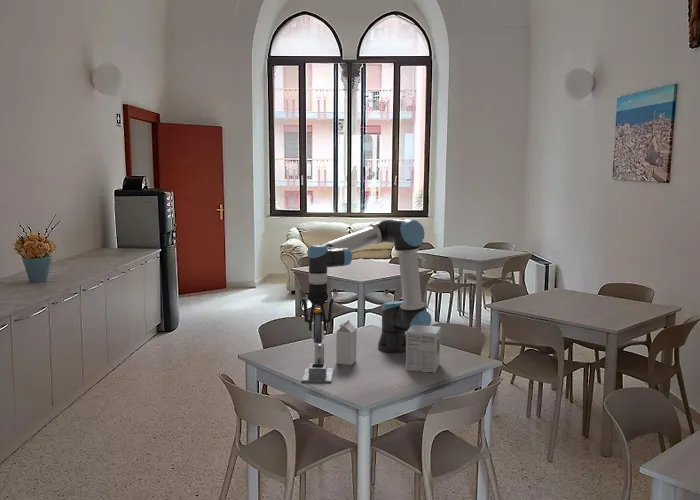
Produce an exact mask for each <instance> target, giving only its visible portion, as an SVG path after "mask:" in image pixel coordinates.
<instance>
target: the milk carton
mask: <svg viewBox="0 0 700 500" xmlns="http://www.w3.org/2000/svg"><path fill="white" fill-rule="evenodd" d="M335 339H336V341H335V343H336V344H335V345H336V349H335V351H336V353H335V354H336V358H335V359H336V364H337V365H344V366H345V365H346V366H352V365H353V364H355V363H356V362H357V328H356V327H355V326H354V325H353V324H352V323H351V321H350V319H347V320H346V321H344V322H343V323H341V324H339V329H338V330H336V338H335Z"/></svg>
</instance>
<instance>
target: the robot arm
mask: <svg viewBox="0 0 700 500" xmlns="http://www.w3.org/2000/svg"><path fill="white" fill-rule="evenodd" d="M424 228H425V227H423V225H422V223H421V222H419V221H418V220H416V219H412V218H403V217H402V218H401V217H388V218H384V219H382V220H379V221H375V222H374V223H371V224H369V225H368V226H367V227H365V228H363V229H361V230H358V231H355V232H352V233H349V234H347V235H344V236H342V237H339V238H336V239H332V240H331V241H328V242H325V243H322V244H312V245H310V246H309V247H308V249H307V253H306V255H307V258H308V282H309V283H308V294H307V296H305V297H302V298H301V302H302V305H303V316H304V317H303V318H304V322H305V323H307V324H308V331H310V332H311V340H314V312H313V310H314V309H315V308H316V306H319V308H321V310H323V312H322V341H323V340H324V339H325V332H327V329H328V328H327V327H328V326H327V324H328V323H331V322H332V311H333V303H334V300H335V298H334V297H330V296H329V294H328V284H327V282H328V268H334V267H335V268H337V267H345V266H349V265H350V264H351V263H352V260H353V254H352V252H354V251H356V250H359V249H361V248H364V247H367V246H371V245H372V244H375V245H378V244H382V243H393V244H394V250H395V251H396V252H397V254H398V262H399V271H400V272H399V274H400V284H401V285H400V286H401V293H402V294H401V296H402V300H394V301H393V300H392V301H386V302H383V304H382V306H381V334H380V336H379V340H378V342H377V349H378V350H379V351H381V352H382V351H383V352H385V353H405V352H406V332H407V330H408V329H409V328H410V327H411V326H412V325H425V326H431V323H432V315H431V313H430V312H429V311H427V310H426V304H425V302H423V301H422V293H421V292H422V291H421V281H420V269H419V257H418V251H419V250H420V248H421V245H422V244H423V242H424V240H425V229H424ZM308 301H309V302H310V303H311V307H310V308H311V309H310V313H309V311H308ZM326 301H327V302H328V313H327V315H326V309H325V303H326ZM309 314H310V315H309Z"/></svg>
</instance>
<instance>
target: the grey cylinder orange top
mask: <svg viewBox="0 0 700 500" xmlns="http://www.w3.org/2000/svg"><path fill="white" fill-rule="evenodd" d="M313 312H314V315H313V322H314V339H313V343H314V344H317V343H322V344H323V340H322V323H323V318H322V312H323V310H321V307H315V309H314V310H313Z"/></svg>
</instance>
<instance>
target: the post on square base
mask: <svg viewBox="0 0 700 500" xmlns="http://www.w3.org/2000/svg"><path fill="white" fill-rule="evenodd" d="M333 375H334V367H331V368H330V367H328V363H327V362H326V363H325V343H323V342H322V343H314V362H310V363H309V367H305V370H304V372H303V376H302V378H301V383H307V384H308V383H311V384H312V383H314V384H317V383H318V384H332V381H333Z"/></svg>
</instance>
